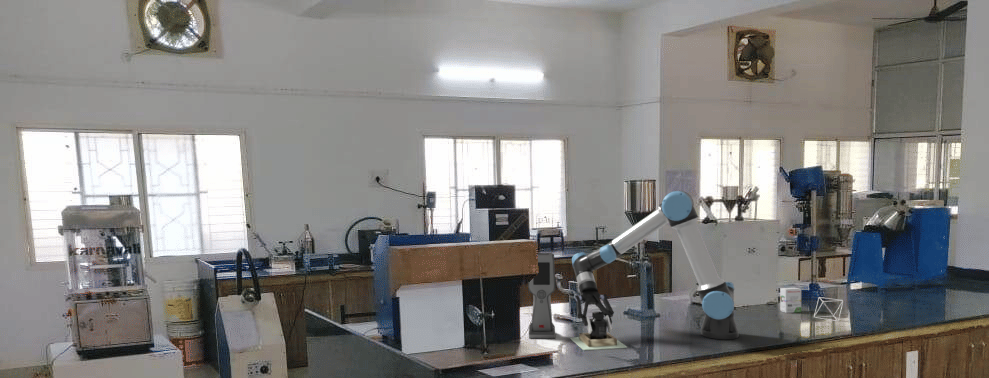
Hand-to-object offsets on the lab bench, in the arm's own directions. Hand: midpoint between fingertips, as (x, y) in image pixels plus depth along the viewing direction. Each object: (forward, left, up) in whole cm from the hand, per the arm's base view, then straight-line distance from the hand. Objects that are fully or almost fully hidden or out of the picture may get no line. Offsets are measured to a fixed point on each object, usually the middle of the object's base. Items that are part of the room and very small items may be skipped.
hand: (600, 331), depth 240 cm
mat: (+2, -3, -6) cm, 7 cm away
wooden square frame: (+2, -3, -6) cm, 7 cm away
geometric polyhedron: (-94, -79, -6) cm, 123 cm away
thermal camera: (+27, -8, -6) cm, 28 cm away
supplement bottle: (+2, -3, -5) cm, 6 cm away
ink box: (-79, -89, -6) cm, 119 cm away
